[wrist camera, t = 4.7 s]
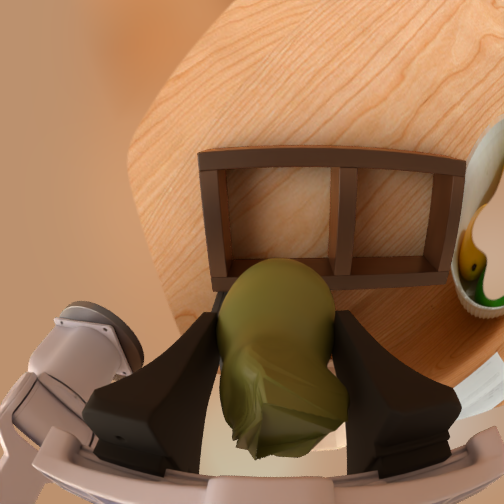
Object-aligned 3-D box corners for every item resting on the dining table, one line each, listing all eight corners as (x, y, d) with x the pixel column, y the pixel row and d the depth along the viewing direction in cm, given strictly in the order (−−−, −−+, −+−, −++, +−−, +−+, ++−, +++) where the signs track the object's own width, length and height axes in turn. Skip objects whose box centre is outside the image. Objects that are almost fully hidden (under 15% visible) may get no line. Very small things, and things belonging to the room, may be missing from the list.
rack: (430, 267, 22) (445, 284, 19) (219, 272, 24) (212, 291, 21) (446, 155, 18) (466, 161, 15) (207, 149, 20) (196, 152, 17)
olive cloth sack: (214, 293, 17) (164, 445, 8) (265, 222, 15) (249, 375, 6) (290, 336, 18) (293, 484, 9) (346, 276, 16) (401, 430, 7)
